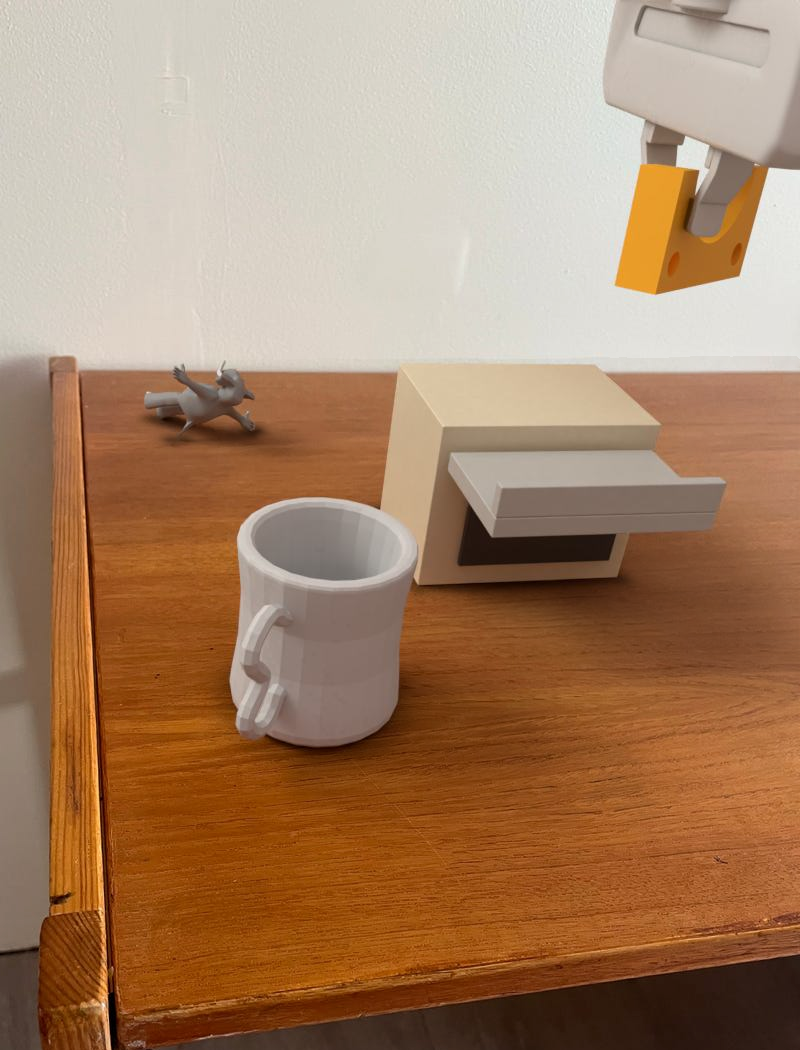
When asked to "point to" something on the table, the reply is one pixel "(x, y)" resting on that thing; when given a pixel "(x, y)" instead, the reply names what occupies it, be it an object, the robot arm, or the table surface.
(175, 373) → the grey sculpted figure
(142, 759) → the table surface
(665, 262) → the pipe clamp
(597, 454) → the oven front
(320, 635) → the mug
